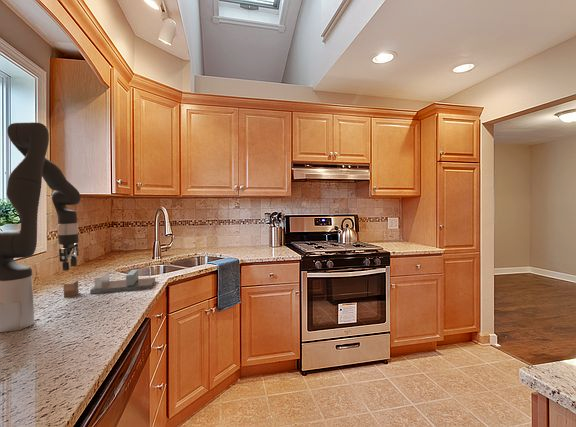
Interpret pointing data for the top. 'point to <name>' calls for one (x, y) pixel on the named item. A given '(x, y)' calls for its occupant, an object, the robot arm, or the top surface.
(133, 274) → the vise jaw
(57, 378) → the top surface
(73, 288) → the walnut block
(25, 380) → the top surface
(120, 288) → the plate
